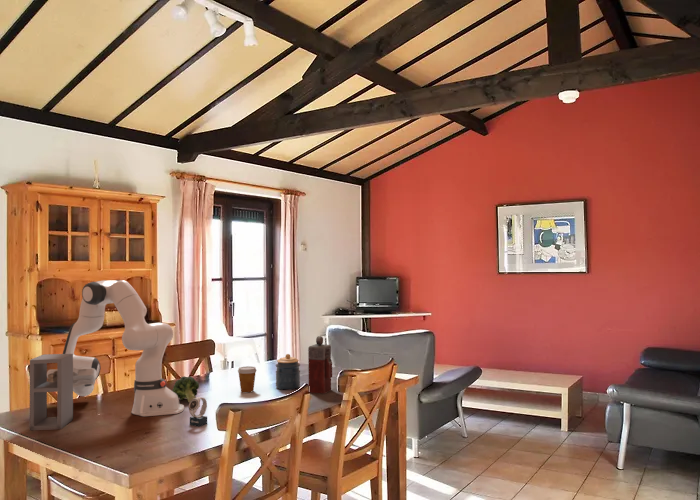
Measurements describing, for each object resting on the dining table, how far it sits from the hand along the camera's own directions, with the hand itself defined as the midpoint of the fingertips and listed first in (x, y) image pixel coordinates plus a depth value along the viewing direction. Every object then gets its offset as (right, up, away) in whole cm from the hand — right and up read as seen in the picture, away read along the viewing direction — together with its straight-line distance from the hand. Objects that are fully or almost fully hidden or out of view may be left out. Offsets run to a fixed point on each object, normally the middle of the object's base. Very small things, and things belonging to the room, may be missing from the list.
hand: (66, 368), depth 256 cm
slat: (+1, -2, -8) cm, 8 cm away
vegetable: (+47, -20, +23) cm, 56 cm away
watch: (+63, -19, -18) cm, 68 cm away
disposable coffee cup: (+72, -20, +41) cm, 86 cm away
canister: (+92, -20, +50) cm, 107 cm away
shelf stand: (+2, -20, -15) cm, 25 cm away
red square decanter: (+111, -20, +40) cm, 120 cm away
